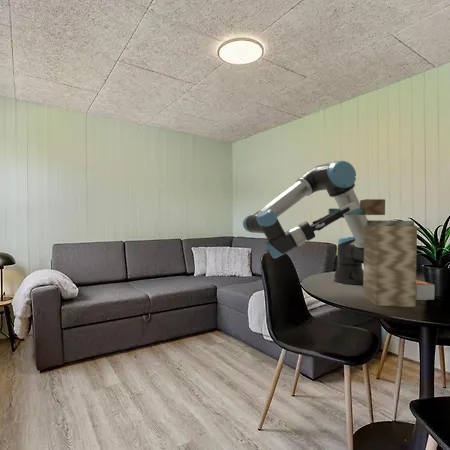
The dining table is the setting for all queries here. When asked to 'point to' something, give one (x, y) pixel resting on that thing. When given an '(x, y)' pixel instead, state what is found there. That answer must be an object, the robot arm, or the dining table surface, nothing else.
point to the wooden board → (390, 263)
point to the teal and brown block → (367, 208)
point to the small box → (424, 290)
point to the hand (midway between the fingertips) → (354, 204)
